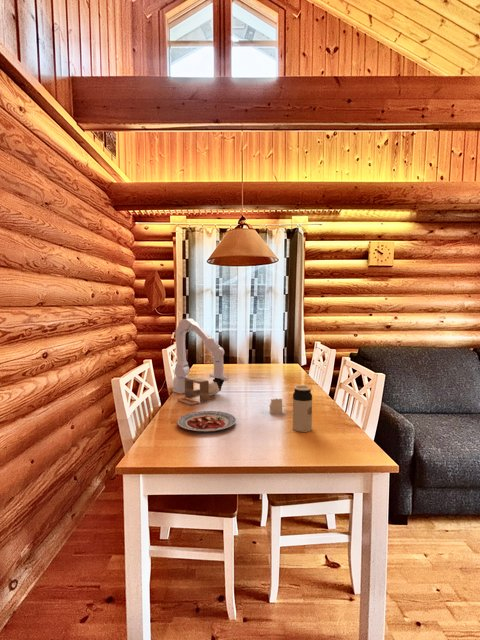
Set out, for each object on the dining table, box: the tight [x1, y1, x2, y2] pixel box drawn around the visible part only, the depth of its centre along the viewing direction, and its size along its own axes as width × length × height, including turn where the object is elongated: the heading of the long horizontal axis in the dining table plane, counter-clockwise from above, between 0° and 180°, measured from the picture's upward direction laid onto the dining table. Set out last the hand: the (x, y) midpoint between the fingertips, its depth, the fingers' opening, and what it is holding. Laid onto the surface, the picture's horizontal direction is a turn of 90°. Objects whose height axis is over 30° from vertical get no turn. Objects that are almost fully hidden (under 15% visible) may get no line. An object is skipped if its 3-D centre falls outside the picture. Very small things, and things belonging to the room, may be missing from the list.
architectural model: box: [269, 397, 285, 415], centre depth 173 cm, size 3×7×7 cm, turn 100°
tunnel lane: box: [184, 376, 216, 404], centre depth 197 cm, size 15×10×11 cm, turn 44°
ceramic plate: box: [177, 410, 237, 432], centre depth 156 cm, size 26×26×3 cm
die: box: [209, 381, 220, 397], centre depth 203 cm, size 8×9×10 cm
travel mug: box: [292, 384, 313, 433], centre depth 150 cm, size 8×8×18 cm
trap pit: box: [177, 396, 200, 407], centre depth 190 cm, size 12×5×1 cm, turn 44°
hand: (218, 391), depth 207 cm, fingers closed
